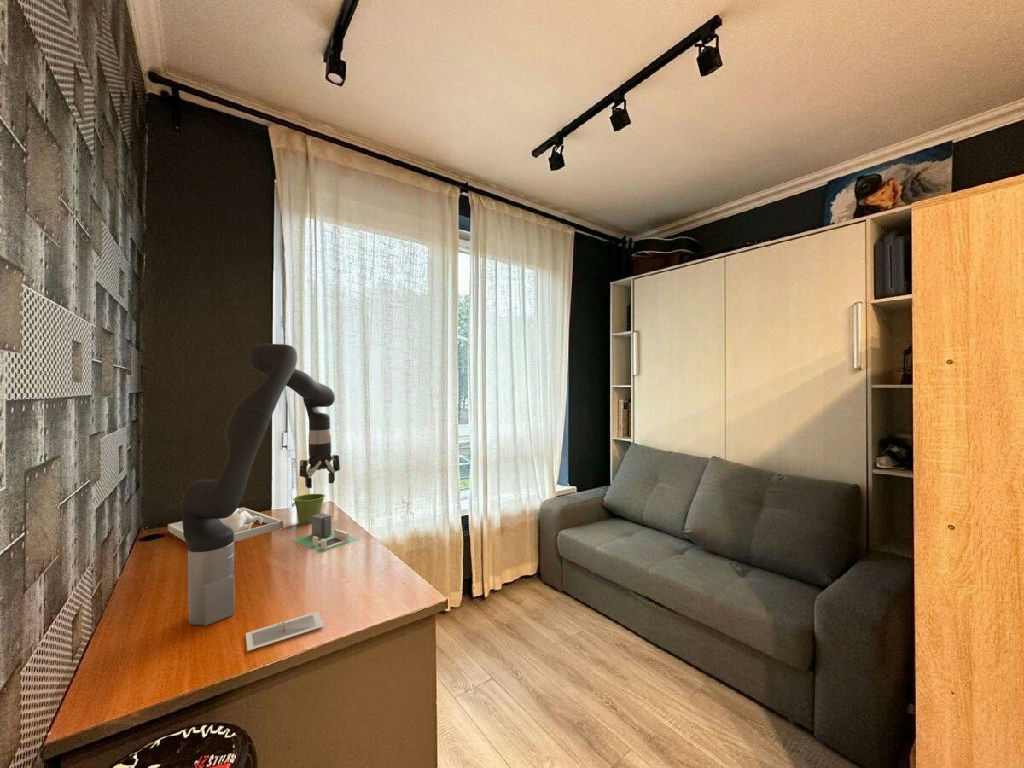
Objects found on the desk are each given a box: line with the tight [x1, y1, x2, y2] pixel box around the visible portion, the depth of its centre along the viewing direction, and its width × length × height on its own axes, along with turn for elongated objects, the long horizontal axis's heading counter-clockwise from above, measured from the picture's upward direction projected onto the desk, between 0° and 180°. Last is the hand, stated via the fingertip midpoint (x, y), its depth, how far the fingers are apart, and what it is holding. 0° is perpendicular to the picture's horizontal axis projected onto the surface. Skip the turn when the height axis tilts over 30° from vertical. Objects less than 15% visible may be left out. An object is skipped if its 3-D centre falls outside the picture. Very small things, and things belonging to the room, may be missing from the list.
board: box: [291, 528, 360, 554], centre depth 147 cm, size 20×14×4 cm
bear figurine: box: [219, 508, 263, 533], centre depth 161 cm, size 17×14×20 cm
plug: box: [311, 512, 332, 538], centre depth 151 cm, size 4×7×7 cm, turn 55°
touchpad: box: [245, 610, 325, 652], centre depth 93 cm, size 8×15×2 cm, turn 125°
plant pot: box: [292, 493, 326, 525], centre depth 168 cm, size 12×12×11 cm
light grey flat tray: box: [167, 506, 284, 543], centre depth 163 cm, size 36×27×3 cm
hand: (320, 485), depth 152 cm, fingers open, 8 cm apart
